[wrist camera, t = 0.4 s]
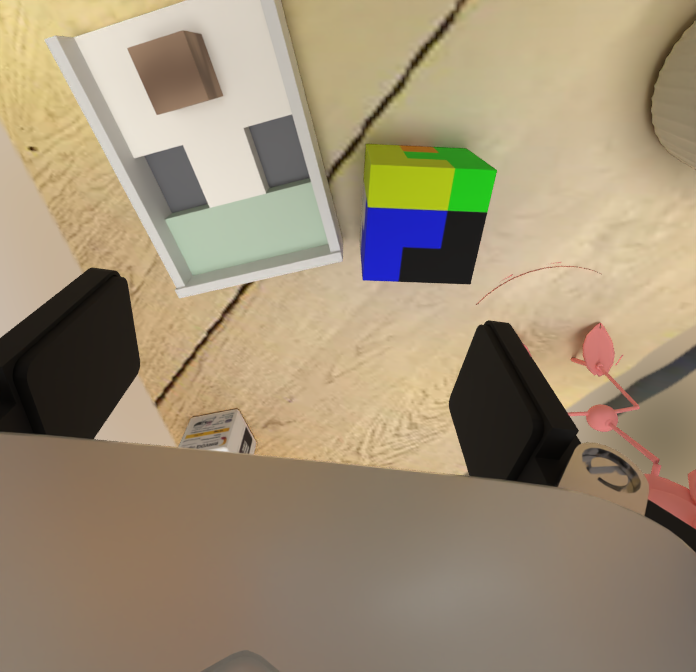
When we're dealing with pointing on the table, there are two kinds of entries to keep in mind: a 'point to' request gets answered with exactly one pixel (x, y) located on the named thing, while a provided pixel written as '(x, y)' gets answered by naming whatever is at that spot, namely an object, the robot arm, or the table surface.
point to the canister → (677, 100)
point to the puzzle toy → (423, 213)
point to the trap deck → (212, 145)
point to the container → (219, 433)
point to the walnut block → (176, 71)
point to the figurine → (663, 492)
